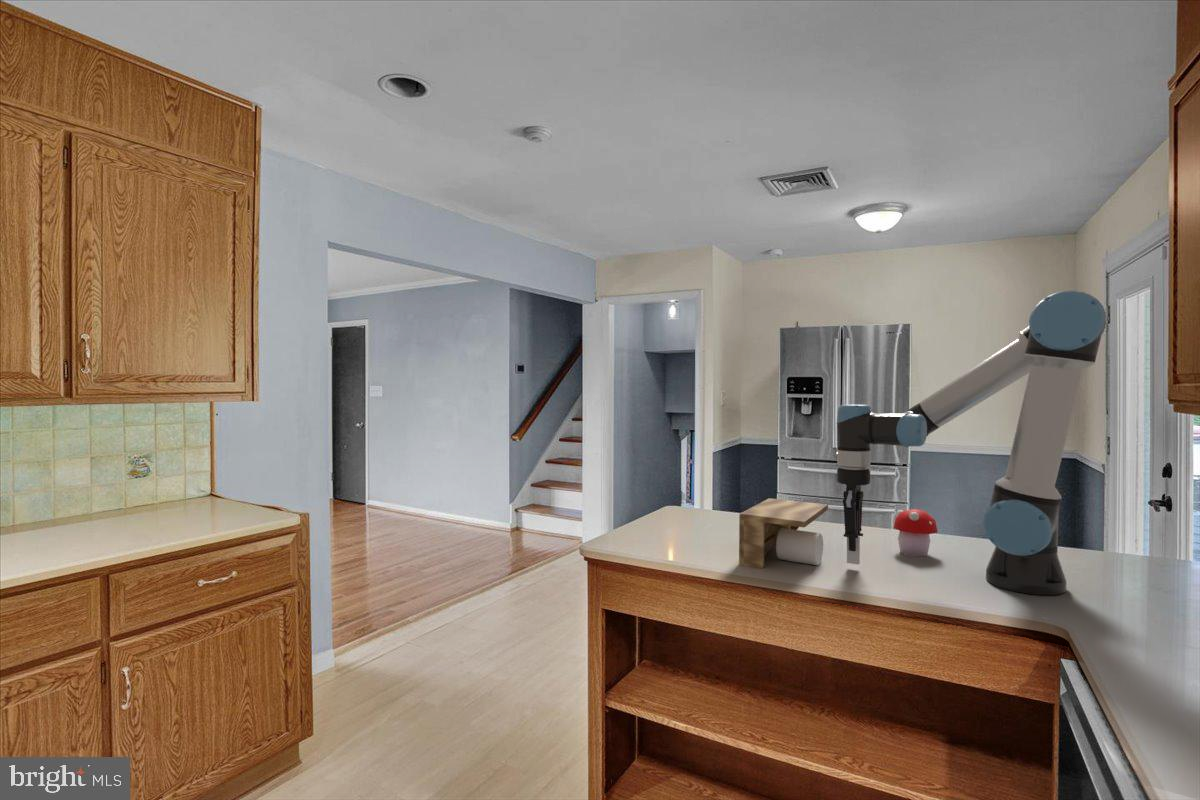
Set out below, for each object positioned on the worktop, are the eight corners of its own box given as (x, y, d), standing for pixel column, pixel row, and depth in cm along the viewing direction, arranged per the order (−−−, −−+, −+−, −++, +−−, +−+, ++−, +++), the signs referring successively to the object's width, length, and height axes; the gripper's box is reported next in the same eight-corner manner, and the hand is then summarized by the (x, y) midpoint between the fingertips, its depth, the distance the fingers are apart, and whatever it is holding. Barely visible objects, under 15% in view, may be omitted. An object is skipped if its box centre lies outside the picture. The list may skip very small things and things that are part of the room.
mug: (815, 569, 153) (816, 536, 153) (775, 562, 159) (775, 531, 159) (826, 557, 164) (827, 527, 163) (788, 551, 169) (789, 522, 169)
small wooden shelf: (827, 552, 168) (828, 504, 168) (803, 575, 148) (804, 521, 148) (768, 543, 177) (769, 498, 176) (738, 564, 157) (739, 513, 156)
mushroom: (901, 545, 175) (902, 503, 175) (943, 553, 167) (944, 509, 167) (886, 552, 168) (887, 508, 167) (930, 561, 160) (931, 515, 159)
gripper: (842, 463, 160) (842, 554, 161) (831, 469, 149) (831, 567, 150) (874, 465, 156) (874, 558, 157) (865, 471, 145) (864, 572, 146)
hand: (853, 562), depth 153 cm, fingers closed
